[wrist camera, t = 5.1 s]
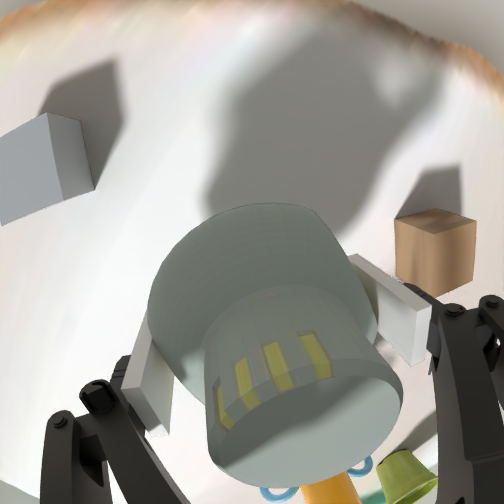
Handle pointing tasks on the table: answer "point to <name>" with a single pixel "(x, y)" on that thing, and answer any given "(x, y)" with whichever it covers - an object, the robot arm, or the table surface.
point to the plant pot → (405, 478)
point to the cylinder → (326, 488)
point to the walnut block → (435, 250)
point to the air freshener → (274, 345)
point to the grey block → (42, 166)
